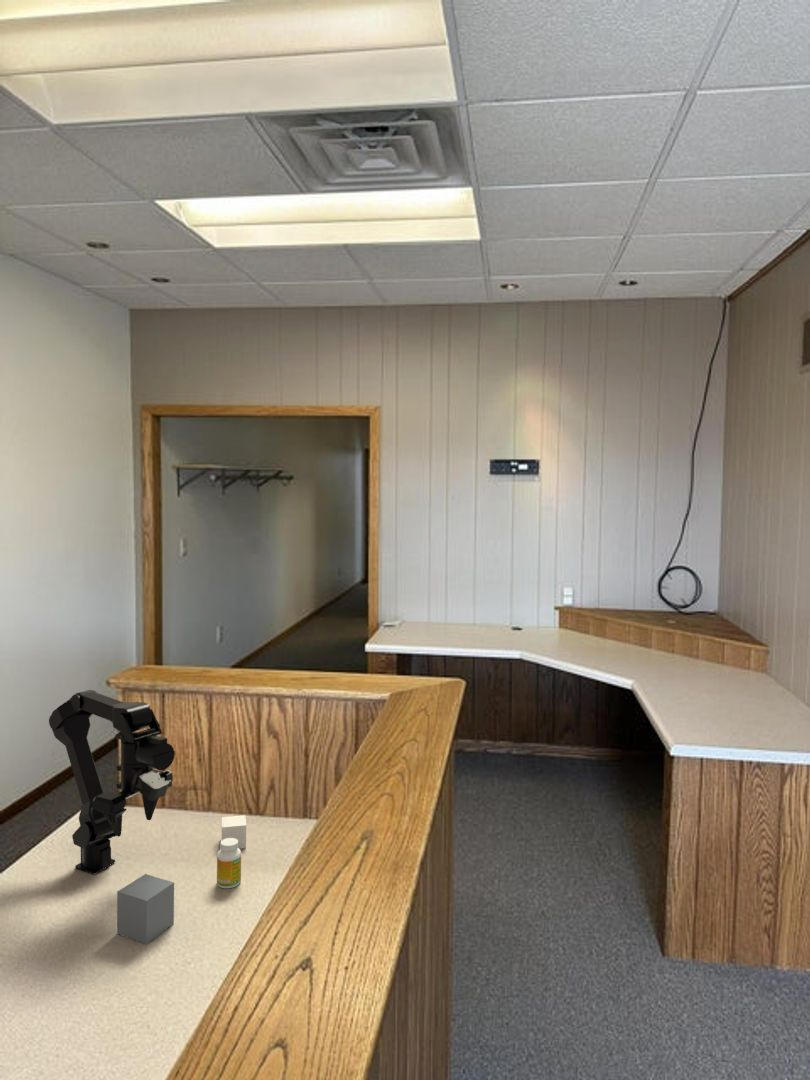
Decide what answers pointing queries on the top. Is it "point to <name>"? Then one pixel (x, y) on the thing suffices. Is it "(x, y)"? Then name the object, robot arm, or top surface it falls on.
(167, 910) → the grey upright block
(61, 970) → the top surface
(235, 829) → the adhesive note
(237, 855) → the supplement bottle
